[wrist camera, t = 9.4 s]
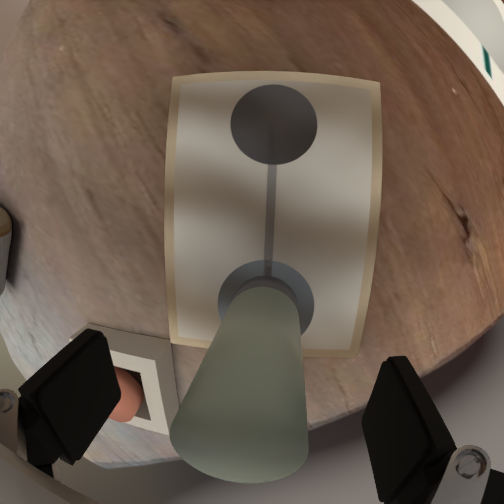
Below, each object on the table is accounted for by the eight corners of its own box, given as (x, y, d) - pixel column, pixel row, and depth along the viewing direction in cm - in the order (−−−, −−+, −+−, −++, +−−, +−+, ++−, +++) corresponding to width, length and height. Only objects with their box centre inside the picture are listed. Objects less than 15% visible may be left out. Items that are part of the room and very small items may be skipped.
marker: (233, 273, 17) (160, 391, 6) (300, 277, 17) (320, 410, 6) (232, 332, 18) (178, 471, 7) (294, 337, 17) (297, 486, 7)
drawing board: (178, 82, 16) (171, 76, 15) (374, 88, 15) (380, 81, 13) (176, 335, 20) (169, 343, 19) (353, 348, 19) (357, 358, 17)
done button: (93, 359, 19) (79, 371, 17) (139, 372, 18) (127, 387, 16) (104, 399, 20) (94, 412, 18) (148, 412, 19) (139, 428, 17)
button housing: (88, 323, 21) (68, 337, 18) (170, 339, 20) (155, 360, 17) (106, 393, 22) (91, 410, 20) (180, 413, 22) (169, 435, 19)
